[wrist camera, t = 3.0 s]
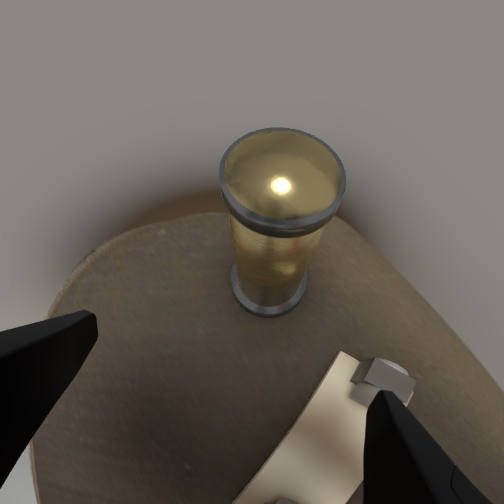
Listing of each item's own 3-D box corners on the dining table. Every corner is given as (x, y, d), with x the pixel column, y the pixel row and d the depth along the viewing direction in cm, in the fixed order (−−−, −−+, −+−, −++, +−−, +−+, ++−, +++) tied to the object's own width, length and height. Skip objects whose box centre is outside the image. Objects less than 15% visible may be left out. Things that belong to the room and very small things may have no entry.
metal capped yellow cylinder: (231, 317, 22) (206, 233, 10) (232, 249, 24) (216, 123, 13) (306, 316, 22) (365, 232, 10) (301, 248, 24) (339, 126, 13)
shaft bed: (308, 539, 14) (318, 561, 11) (229, 505, 16) (226, 525, 12) (410, 388, 19) (436, 386, 16) (339, 348, 21) (356, 340, 18)
